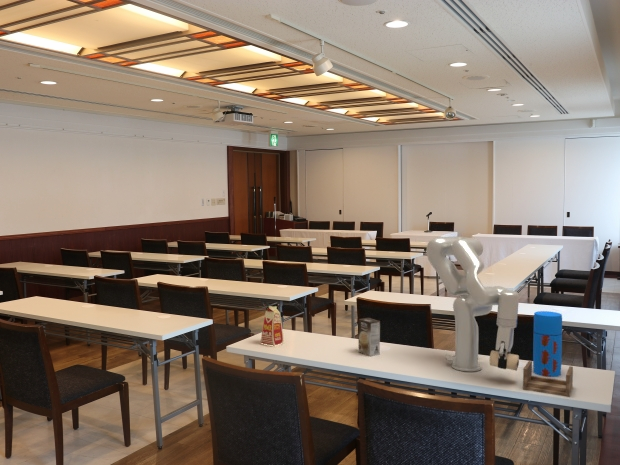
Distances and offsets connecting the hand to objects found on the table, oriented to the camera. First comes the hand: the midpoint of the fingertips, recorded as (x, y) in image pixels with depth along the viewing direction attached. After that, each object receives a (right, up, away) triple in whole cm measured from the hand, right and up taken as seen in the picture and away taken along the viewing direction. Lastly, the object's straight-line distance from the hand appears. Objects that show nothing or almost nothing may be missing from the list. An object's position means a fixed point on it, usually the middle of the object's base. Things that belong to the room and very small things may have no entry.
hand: (503, 365), depth 220 cm
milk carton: (-96, -4, +60) cm, 114 cm away
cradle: (+14, -7, -8) cm, 18 cm away
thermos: (+22, -6, +10) cm, 25 cm away
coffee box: (-49, -5, +42) cm, 65 cm away
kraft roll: (0, -1, 0) cm, 1 cm away
